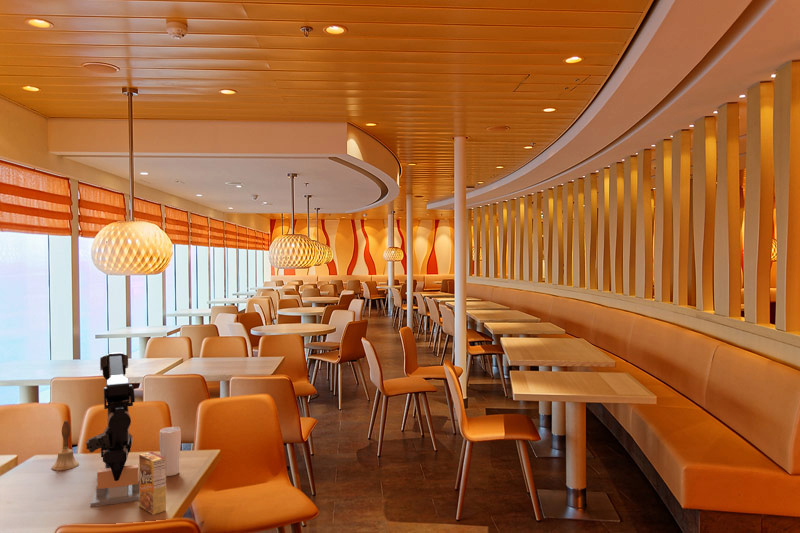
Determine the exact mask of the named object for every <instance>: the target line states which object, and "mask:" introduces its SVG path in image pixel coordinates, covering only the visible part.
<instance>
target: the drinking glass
mask: <svg viewBox="0 0 800 533" xmlns="http://www.w3.org/2000/svg"><path fill="white" fill-rule="evenodd" d="M158 437H159V438H158V439H159V441H158V442H159V450H160V451H159V452H160V454H159V455H160V456H163V457H165V458H166V477H172V476H175V475H178V474H179V471H180V457H181V456H180V455H181V442H182V430H181V428H180V427H179V426H168V427H163V428H161V429H160V430H159V436H158Z"/></svg>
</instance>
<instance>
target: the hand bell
mask: <svg viewBox="0 0 800 533" xmlns="http://www.w3.org/2000/svg"><path fill="white" fill-rule="evenodd" d="M69 423H70V422H69V420H64V422H63V424H62V425H61V426H62V427H61V436H62V449H61V450H59V451H58V453H57V458H56V460H55V462H54V464H53V465H52V467H51V469H52V470H53V471H66V470H71V469H74V468H77V467H78V466H79V465H80V463H79V462H78V461H77V460H76V459H75V455H74V450H73V449H70V448H69V438H70V434H71V426H70V424H69Z"/></svg>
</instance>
